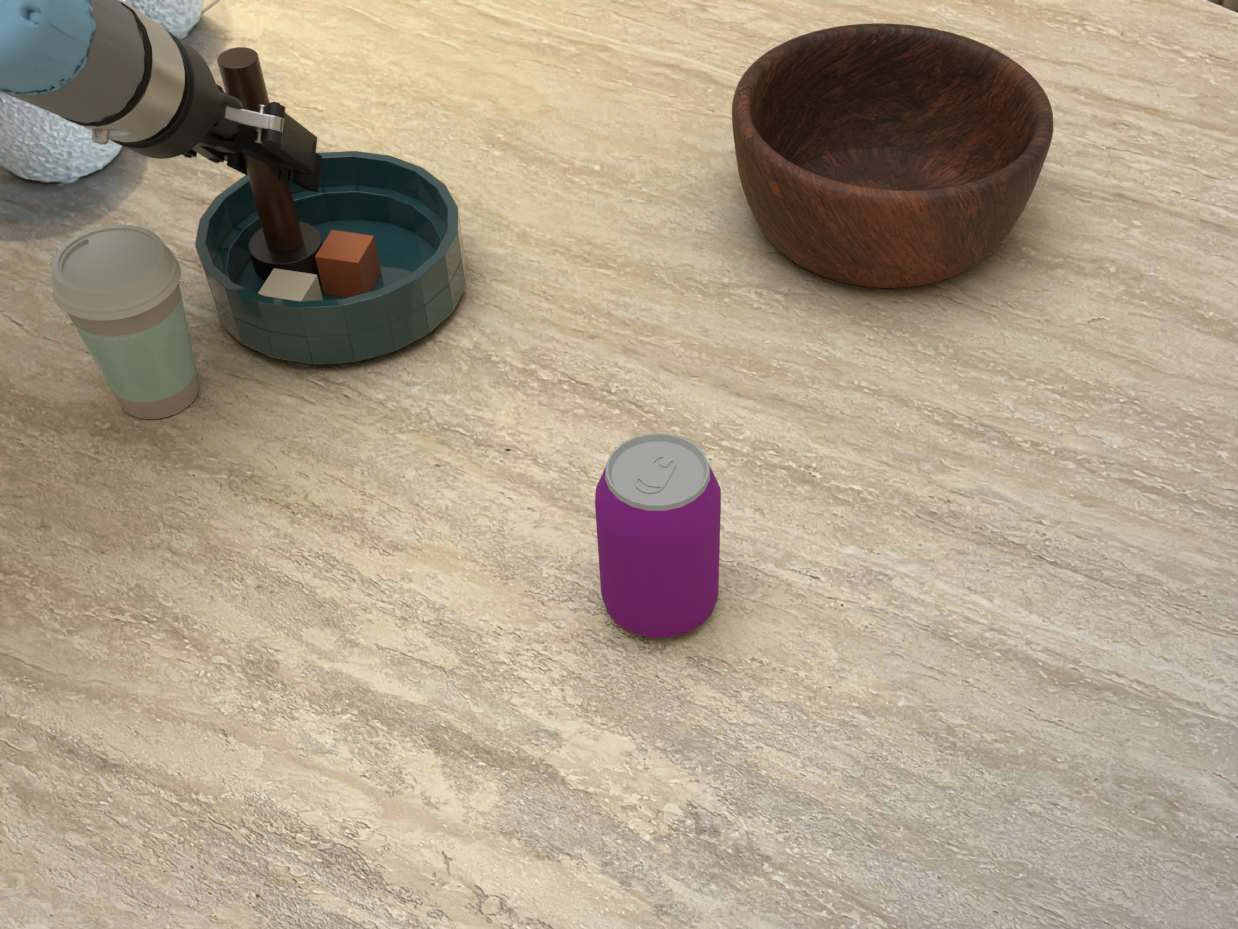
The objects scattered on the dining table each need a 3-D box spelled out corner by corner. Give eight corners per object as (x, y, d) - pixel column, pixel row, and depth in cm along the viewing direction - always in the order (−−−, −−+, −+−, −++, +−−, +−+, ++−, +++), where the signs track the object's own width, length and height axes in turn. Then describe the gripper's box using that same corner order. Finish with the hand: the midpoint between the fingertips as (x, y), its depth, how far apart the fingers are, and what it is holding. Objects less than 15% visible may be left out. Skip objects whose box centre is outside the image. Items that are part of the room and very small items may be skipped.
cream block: (266, 334, 111) (255, 296, 108) (283, 305, 113) (273, 267, 110) (309, 340, 111) (299, 302, 108) (326, 311, 113) (317, 274, 110)
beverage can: (637, 543, 99) (632, 409, 90) (738, 582, 97) (744, 449, 87) (580, 620, 95) (568, 487, 86) (684, 663, 93) (684, 532, 83)
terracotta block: (323, 294, 114) (314, 256, 111) (339, 267, 116) (331, 229, 113) (366, 300, 114) (358, 262, 111) (381, 273, 116) (374, 235, 113)
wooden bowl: (954, 113, 131) (973, 0, 123) (1083, 279, 117) (1113, 164, 109) (689, 161, 126) (690, 47, 118) (789, 340, 112) (797, 224, 104)
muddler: (242, 280, 113) (182, 73, 100) (270, 237, 117) (216, 31, 103) (310, 290, 113) (259, 83, 99) (337, 246, 116) (290, 41, 102)
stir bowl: (174, 351, 111) (151, 285, 106) (274, 202, 123) (257, 137, 118) (419, 389, 109) (407, 324, 104) (498, 233, 120) (490, 169, 115)
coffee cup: (150, 342, 112) (99, 206, 102) (241, 375, 109) (198, 239, 100) (75, 411, 107) (15, 274, 97) (168, 447, 105) (117, 311, 95)
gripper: (8, 129, 91) (192, 207, 114) (247, 161, 89) (385, 234, 112) (19, 3, 90) (202, 107, 113) (261, 33, 88) (398, 133, 111)
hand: (293, 170), depth 112 cm, fingers closed on muddler, 3 cm apart
